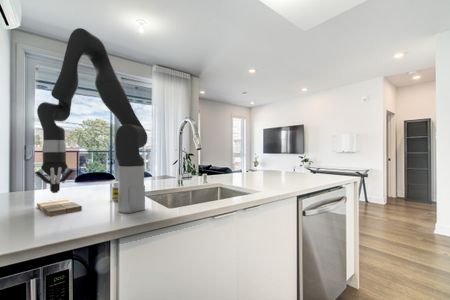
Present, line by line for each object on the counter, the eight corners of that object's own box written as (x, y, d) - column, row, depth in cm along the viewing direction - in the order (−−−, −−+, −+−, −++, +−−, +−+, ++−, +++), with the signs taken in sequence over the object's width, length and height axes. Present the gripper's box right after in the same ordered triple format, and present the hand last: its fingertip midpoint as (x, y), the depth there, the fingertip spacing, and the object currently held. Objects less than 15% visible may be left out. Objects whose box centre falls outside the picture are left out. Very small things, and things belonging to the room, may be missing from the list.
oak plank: (72, 205, 87) (72, 202, 87) (42, 210, 80) (42, 207, 80) (65, 201, 93) (65, 198, 93) (36, 206, 86) (36, 202, 86)
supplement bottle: (112, 201, 96) (112, 182, 96) (112, 199, 100) (112, 181, 100) (123, 200, 98) (123, 182, 98) (123, 198, 102) (123, 180, 102)
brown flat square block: (81, 210, 81) (81, 205, 81) (49, 216, 74) (49, 211, 74) (73, 206, 87) (73, 202, 87) (42, 211, 80) (42, 207, 80)
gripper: (35, 151, 80) (36, 196, 80) (76, 151, 90) (76, 191, 90) (31, 151, 84) (31, 194, 84) (70, 151, 95) (71, 189, 95)
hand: (55, 192), depth 87 cm, fingers closed
